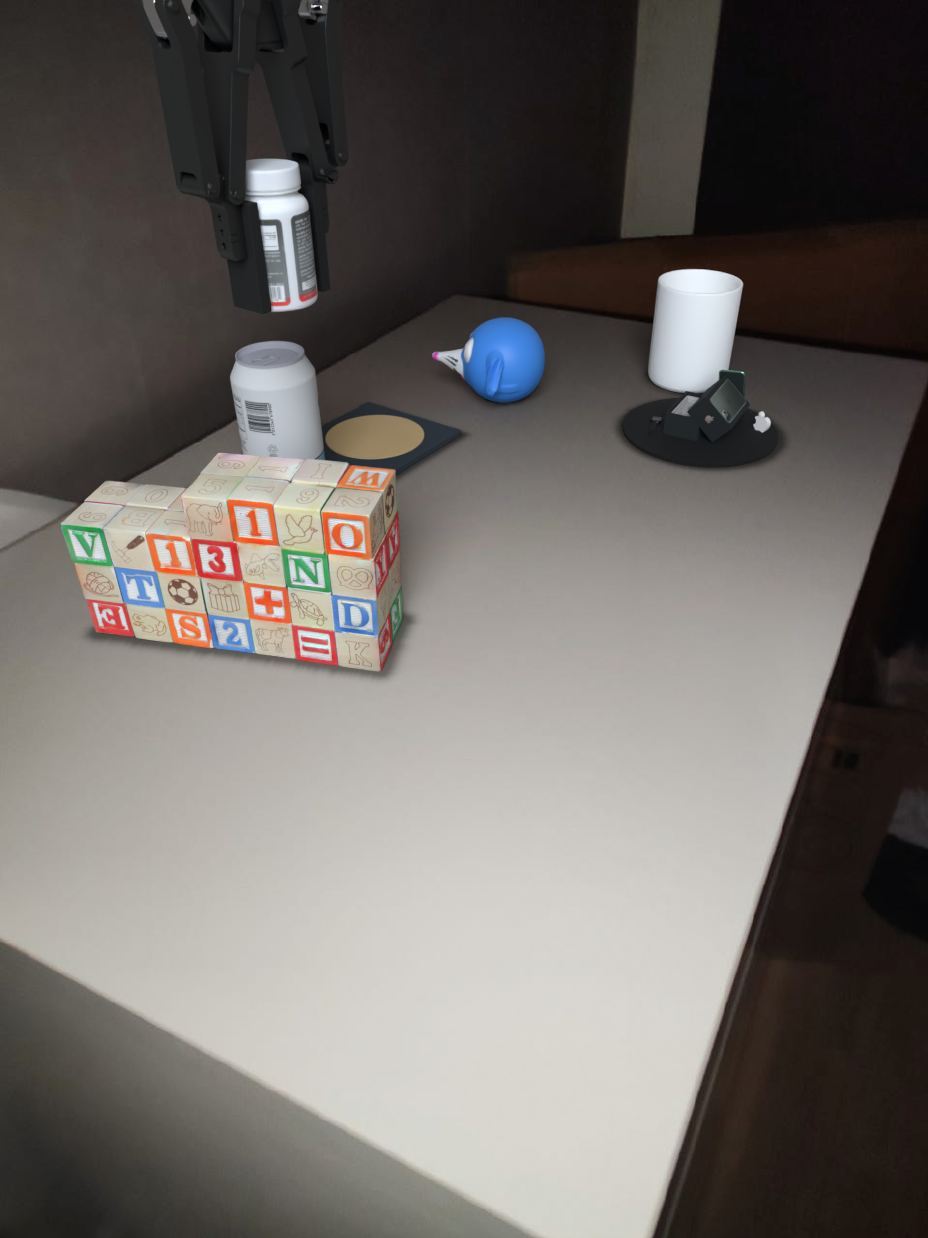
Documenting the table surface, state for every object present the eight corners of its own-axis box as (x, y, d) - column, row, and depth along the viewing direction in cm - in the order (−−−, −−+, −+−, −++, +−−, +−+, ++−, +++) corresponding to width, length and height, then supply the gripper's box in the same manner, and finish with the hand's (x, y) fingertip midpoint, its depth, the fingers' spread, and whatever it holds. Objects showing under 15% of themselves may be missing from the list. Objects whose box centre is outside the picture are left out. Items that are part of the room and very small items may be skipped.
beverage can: (343, 484, 81) (330, 352, 74) (279, 512, 77) (258, 376, 70) (296, 459, 85) (280, 331, 78) (233, 484, 81) (209, 353, 74)
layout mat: (191, 499, 80) (190, 493, 80) (368, 406, 96) (368, 400, 96) (289, 541, 75) (288, 534, 74) (461, 435, 90) (460, 428, 90)
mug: (736, 360, 105) (753, 264, 99) (719, 400, 96) (736, 297, 90) (662, 351, 108) (673, 256, 101) (639, 389, 99) (650, 288, 92)
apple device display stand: (753, 481, 82) (764, 424, 79) (599, 445, 88) (603, 391, 85) (794, 418, 93) (806, 366, 89) (653, 390, 99) (660, 340, 95)
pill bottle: (300, 286, 63) (286, 153, 58) (330, 305, 60) (318, 166, 55) (235, 298, 61) (215, 161, 56) (262, 318, 58) (243, 175, 53)
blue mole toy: (444, 372, 103) (442, 297, 98) (549, 379, 101) (552, 302, 96) (420, 417, 94) (417, 336, 89) (535, 425, 92) (539, 343, 87)
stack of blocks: (93, 635, 65) (43, 481, 58) (135, 586, 70) (95, 438, 62) (383, 672, 61) (369, 513, 54) (406, 618, 66) (397, 465, 59)
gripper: (127, -181, 39) (218, 349, 53) (394, -158, 50) (411, 274, 65) (27, -171, 43) (137, 323, 57) (298, -151, 54) (334, 256, 68)
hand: (283, 296), depth 61 cm, fingers closed on pill bottle, 5 cm apart
